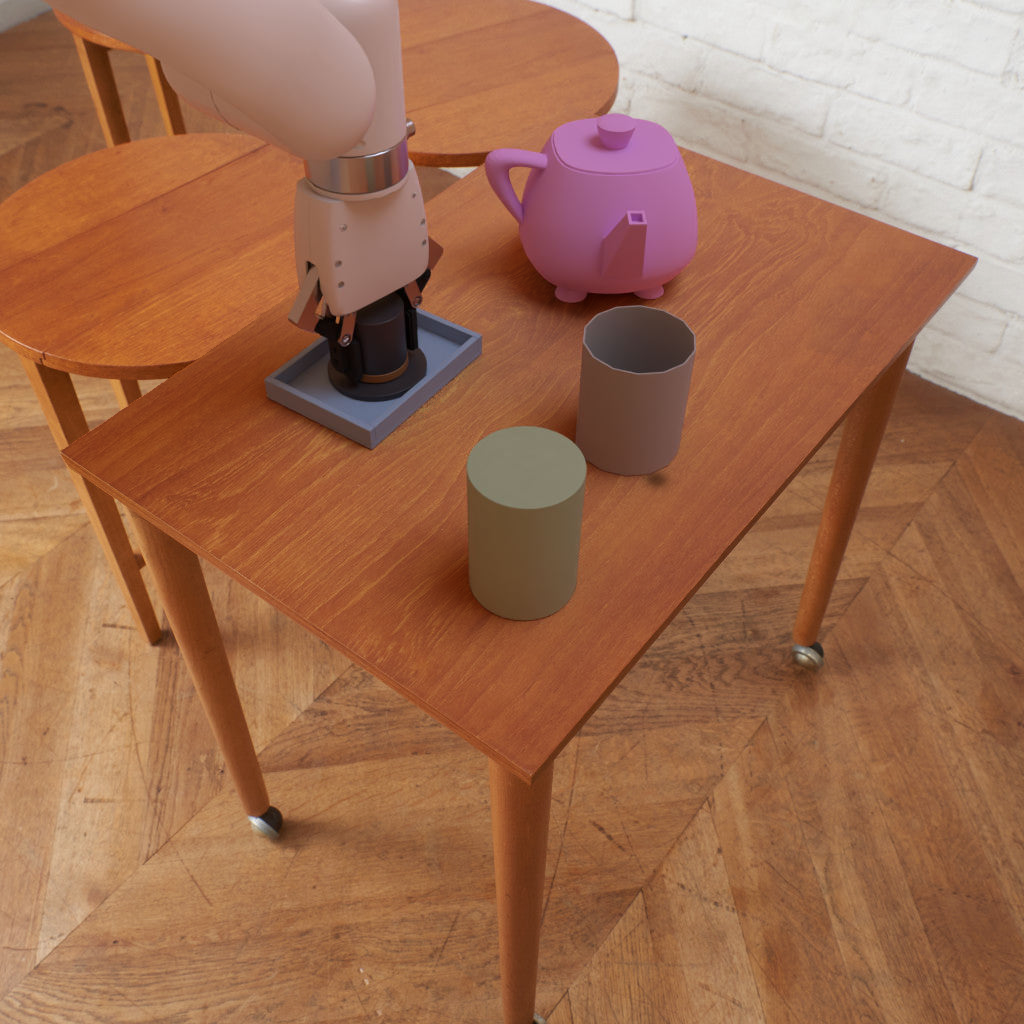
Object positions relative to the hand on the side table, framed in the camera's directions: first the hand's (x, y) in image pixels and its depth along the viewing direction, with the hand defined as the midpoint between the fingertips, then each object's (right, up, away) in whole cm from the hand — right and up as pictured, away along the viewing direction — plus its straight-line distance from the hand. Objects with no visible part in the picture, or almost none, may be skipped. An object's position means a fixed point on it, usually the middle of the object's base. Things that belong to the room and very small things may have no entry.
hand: (376, 356), depth 88 cm
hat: (0, -1, +1) cm, 1 cm away
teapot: (+19, +9, +12) cm, 24 cm away
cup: (+21, -7, -4) cm, 22 cm away
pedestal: (+12, -18, -14) cm, 26 cm away
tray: (0, -1, +1) cm, 2 cm away
